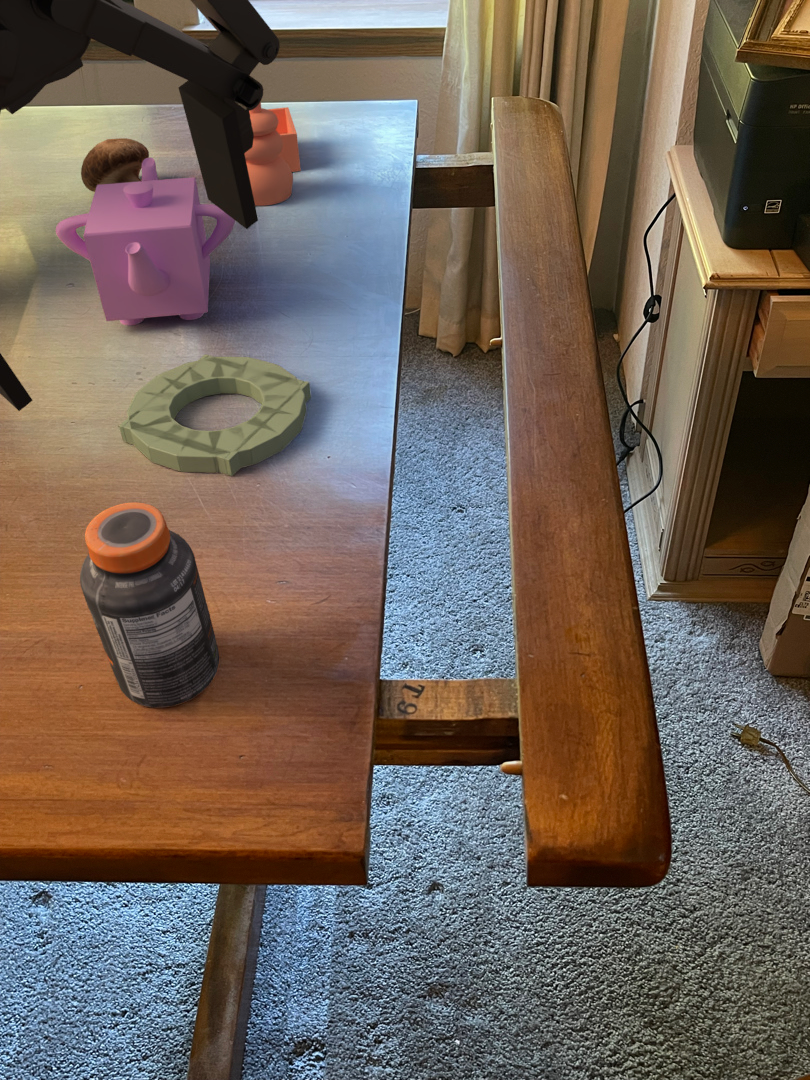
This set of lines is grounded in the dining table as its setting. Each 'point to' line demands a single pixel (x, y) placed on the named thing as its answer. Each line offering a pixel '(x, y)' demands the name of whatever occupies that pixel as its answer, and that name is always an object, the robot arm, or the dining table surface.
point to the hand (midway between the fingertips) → (125, 295)
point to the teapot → (148, 246)
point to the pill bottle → (148, 606)
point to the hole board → (221, 448)
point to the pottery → (272, 155)
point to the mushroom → (113, 162)
